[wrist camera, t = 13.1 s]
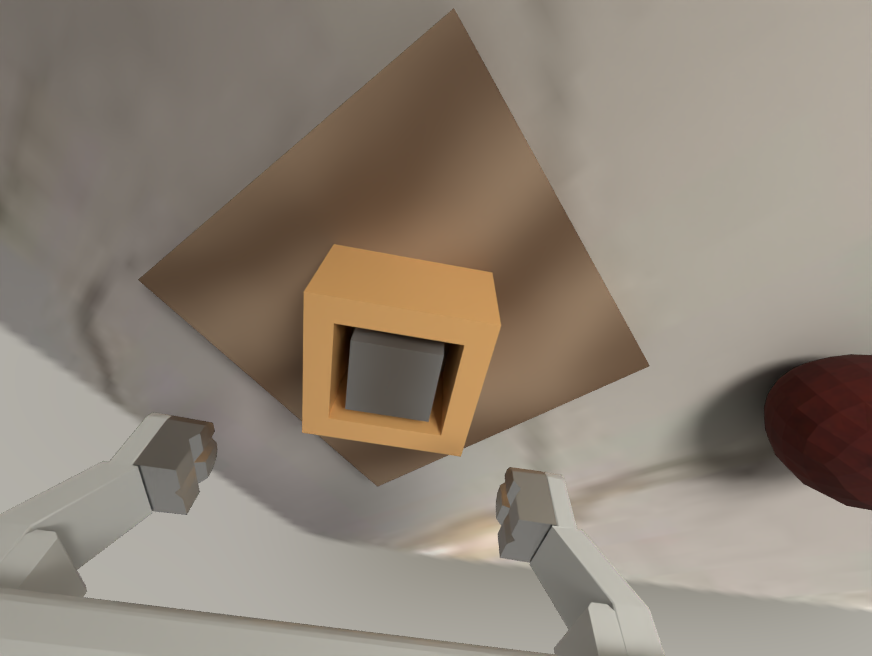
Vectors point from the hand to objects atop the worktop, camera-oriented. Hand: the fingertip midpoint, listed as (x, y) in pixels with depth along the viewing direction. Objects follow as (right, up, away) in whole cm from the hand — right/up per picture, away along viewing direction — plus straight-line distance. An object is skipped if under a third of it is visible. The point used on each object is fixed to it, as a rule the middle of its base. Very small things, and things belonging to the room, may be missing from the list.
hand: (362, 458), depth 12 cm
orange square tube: (+1, +4, +7) cm, 8 cm away
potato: (+22, 0, +10) cm, 24 cm away
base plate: (+1, +5, +8) cm, 9 cm away
